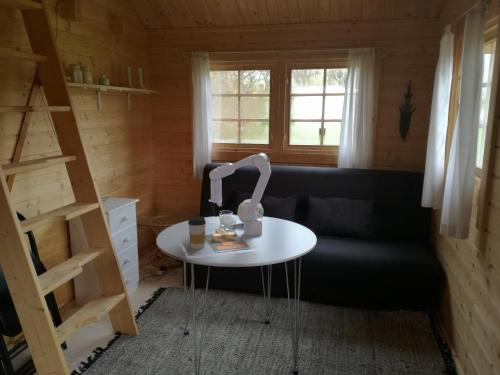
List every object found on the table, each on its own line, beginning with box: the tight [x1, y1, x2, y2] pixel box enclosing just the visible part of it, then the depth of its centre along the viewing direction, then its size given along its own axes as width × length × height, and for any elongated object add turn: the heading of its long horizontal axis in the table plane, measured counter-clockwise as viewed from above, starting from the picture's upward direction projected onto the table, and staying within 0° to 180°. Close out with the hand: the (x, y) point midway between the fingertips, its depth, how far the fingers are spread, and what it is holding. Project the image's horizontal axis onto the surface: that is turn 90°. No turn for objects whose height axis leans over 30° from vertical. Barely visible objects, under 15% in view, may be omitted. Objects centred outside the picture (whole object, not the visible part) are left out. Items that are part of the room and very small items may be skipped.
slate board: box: [205, 233, 251, 254], centre depth 200 cm, size 18×26×1 cm
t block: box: [211, 228, 238, 242], centre depth 205 cm, size 12×12×3 cm
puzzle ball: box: [237, 198, 264, 224], centre depth 232 cm, size 15×15×15 cm
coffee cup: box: [187, 216, 207, 250], centre depth 190 cm, size 8×8×15 cm
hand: (216, 216), depth 214 cm, fingers closed
